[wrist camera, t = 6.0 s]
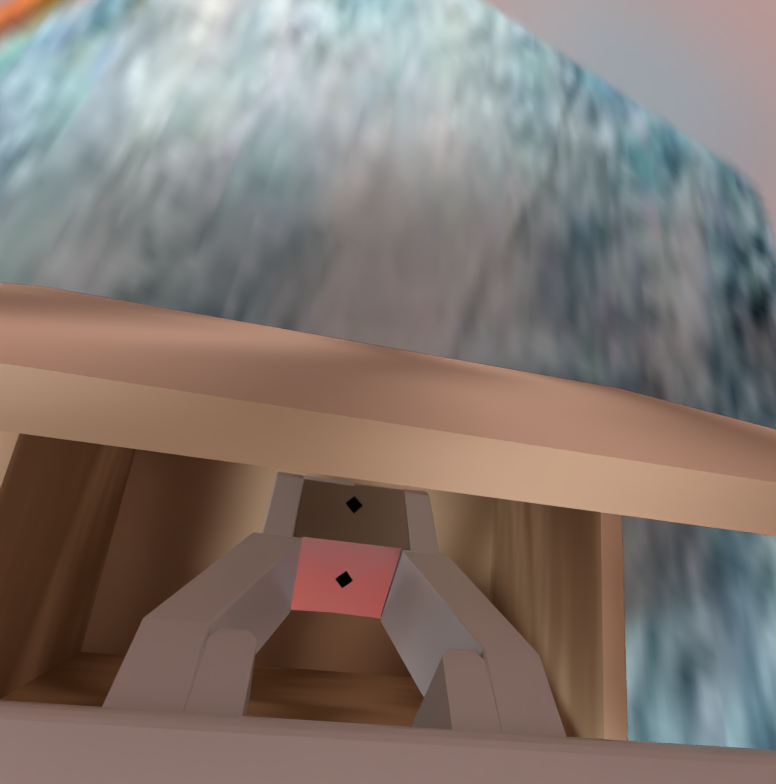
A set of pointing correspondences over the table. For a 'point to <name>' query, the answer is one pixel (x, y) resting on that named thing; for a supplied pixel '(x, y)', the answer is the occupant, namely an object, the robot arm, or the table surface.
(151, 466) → the open wooden box
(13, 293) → the lid flap
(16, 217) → the table surface
